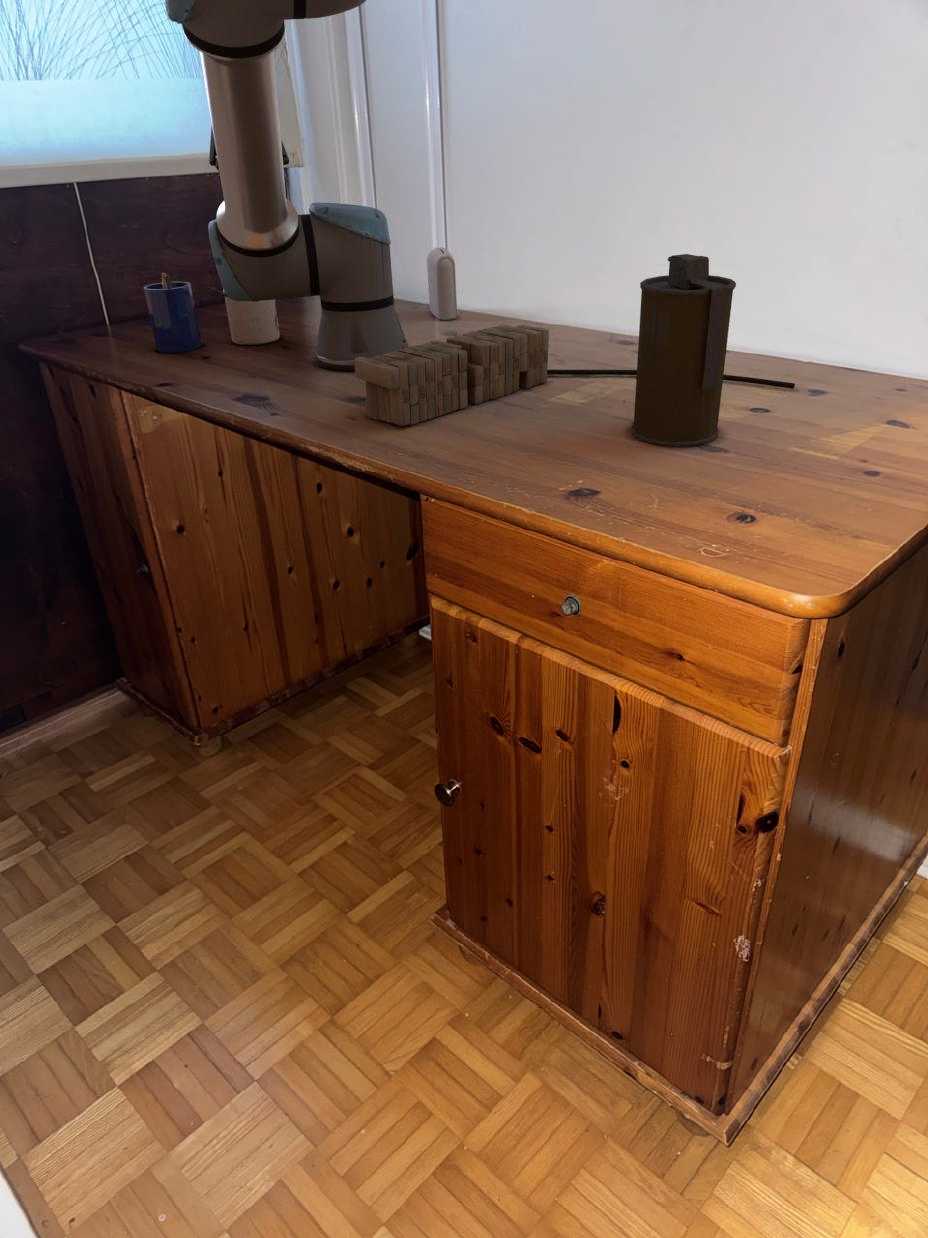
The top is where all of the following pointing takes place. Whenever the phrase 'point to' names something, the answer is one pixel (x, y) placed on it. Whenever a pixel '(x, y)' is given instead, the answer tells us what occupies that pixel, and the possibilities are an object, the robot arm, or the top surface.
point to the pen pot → (173, 317)
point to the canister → (681, 354)
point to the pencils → (166, 281)
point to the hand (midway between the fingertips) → (255, 212)
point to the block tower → (453, 372)
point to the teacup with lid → (252, 321)
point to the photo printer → (442, 284)
